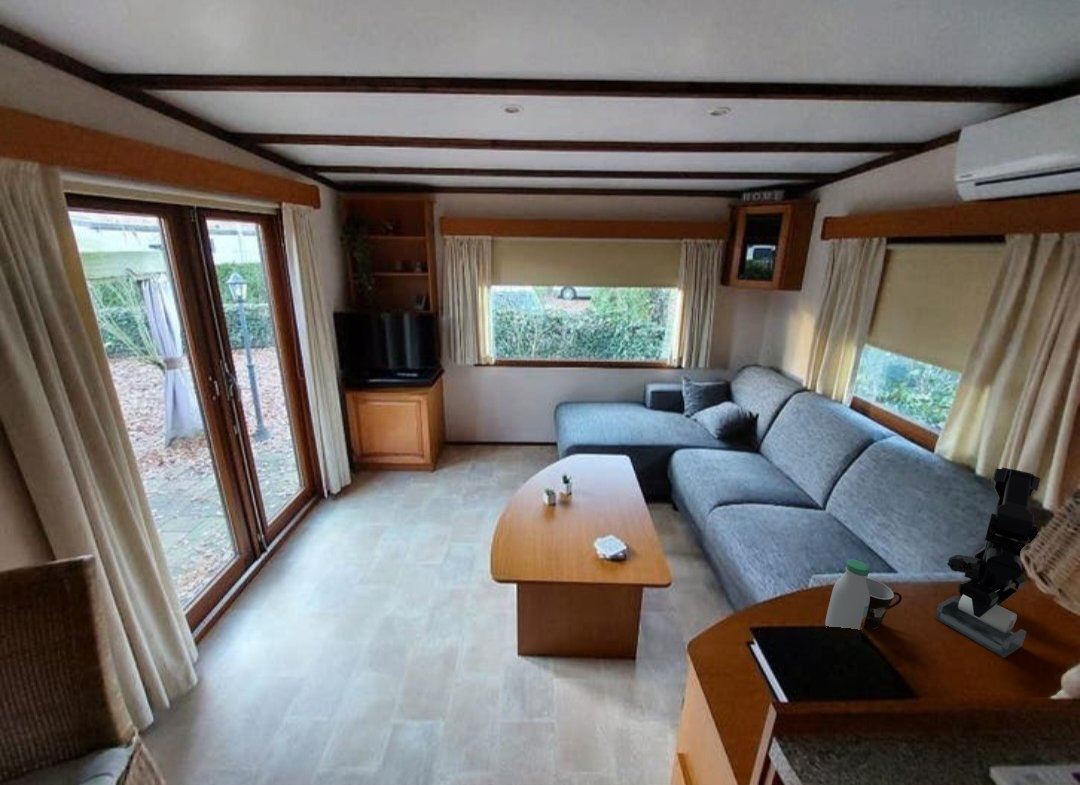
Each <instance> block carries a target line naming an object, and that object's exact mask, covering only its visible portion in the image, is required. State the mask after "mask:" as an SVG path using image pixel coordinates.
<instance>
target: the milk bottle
mask: <svg viewBox="0 0 1080 785" xmlns="http://www.w3.org/2000/svg"><path fill="white" fill-rule="evenodd" d="M869 573H870V567H869V566H868V565H867V564H866V563H865V562H862V561H860V560H858V559H848V560H847V561H846V564H845V572H844V573H843V575H842V576H841V577H839V578H838V579H837V581H836V582H835V584H834V585H833V588H832V592H831V596H830V599H829V600H830V601H829V604H828V608H827V613H826V618H825V622H824V623H825V627H826V626H829V627H841V628H851V629H858V630H861V631H862V632H863V631H864V627H865V626H864V623H865V619H866V615H867V611H868V607H869V602H870V594H869V590H868V587H867V583H866V577H867V578H869Z"/></svg>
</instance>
